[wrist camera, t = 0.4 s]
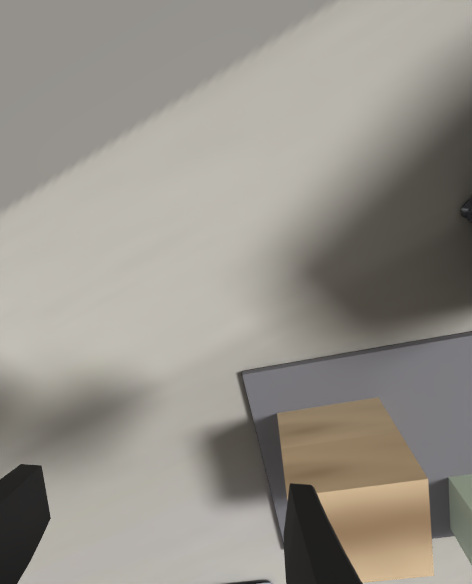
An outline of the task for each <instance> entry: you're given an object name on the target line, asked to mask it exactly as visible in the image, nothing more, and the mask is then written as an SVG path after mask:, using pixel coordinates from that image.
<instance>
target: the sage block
mask: <svg viewBox="0 0 472 584" xmlns="http://www.w3.org/2000/svg"><path fill="white" fill-rule="evenodd" d="M448 478H449V506H450V529H451V531H452V532H453V534H454V536H455V537H456V539H457V541H458V542H459V544H460V546H461V548H462V549H463V551H464V553H465V554H466V556H467V558H468V560H469V561H470V563H471V565H472V474H470V475H462V476H454V477H448Z"/></svg>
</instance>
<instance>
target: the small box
mask: <svg viewBox="0 0 472 584" xmlns="http://www.w3.org/2000/svg"><path fill="white" fill-rule="evenodd" d="M461 215H462V216H463V217H465V218H467V219H468V220H469V221H470V222H471V223H472V198H471V199H470V200H469V201H468V202H467V203H466V204H465V205H464V206H463V207H462V208H461Z"/></svg>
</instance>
